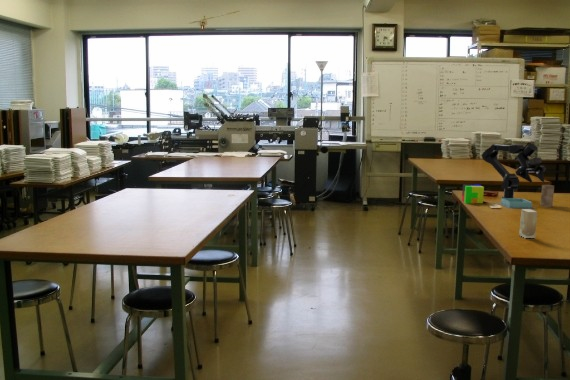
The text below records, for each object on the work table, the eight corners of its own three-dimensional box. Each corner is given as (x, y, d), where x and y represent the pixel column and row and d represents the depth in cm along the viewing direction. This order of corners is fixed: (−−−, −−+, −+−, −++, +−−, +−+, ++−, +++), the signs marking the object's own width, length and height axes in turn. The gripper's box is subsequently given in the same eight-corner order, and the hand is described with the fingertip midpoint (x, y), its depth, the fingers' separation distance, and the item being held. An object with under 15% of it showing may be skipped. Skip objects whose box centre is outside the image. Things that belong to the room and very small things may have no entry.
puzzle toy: (478, 201, 342) (479, 184, 340) (482, 203, 332) (483, 187, 330) (461, 200, 343) (462, 184, 341) (465, 203, 333) (466, 186, 331)
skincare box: (518, 236, 249) (520, 208, 247) (527, 235, 250) (530, 208, 248) (525, 239, 243) (528, 211, 241) (535, 239, 243) (537, 211, 241)
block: (540, 206, 327) (542, 184, 325) (546, 205, 328) (548, 184, 326) (546, 207, 322) (548, 186, 321) (552, 207, 324) (554, 185, 322)
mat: (496, 203, 333) (496, 202, 333) (523, 204, 333) (523, 203, 333) (508, 209, 315) (508, 208, 315) (536, 209, 315) (536, 208, 315)
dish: (500, 203, 330) (501, 198, 330) (522, 204, 330) (522, 198, 330) (509, 207, 318) (509, 201, 318) (531, 207, 318) (532, 202, 318)
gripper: (520, 153, 330) (533, 174, 321) (545, 152, 336) (558, 173, 328) (509, 164, 338) (522, 185, 330) (534, 164, 345) (546, 184, 336)
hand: (537, 181), depth 331 cm, fingers open, 9 cm apart
